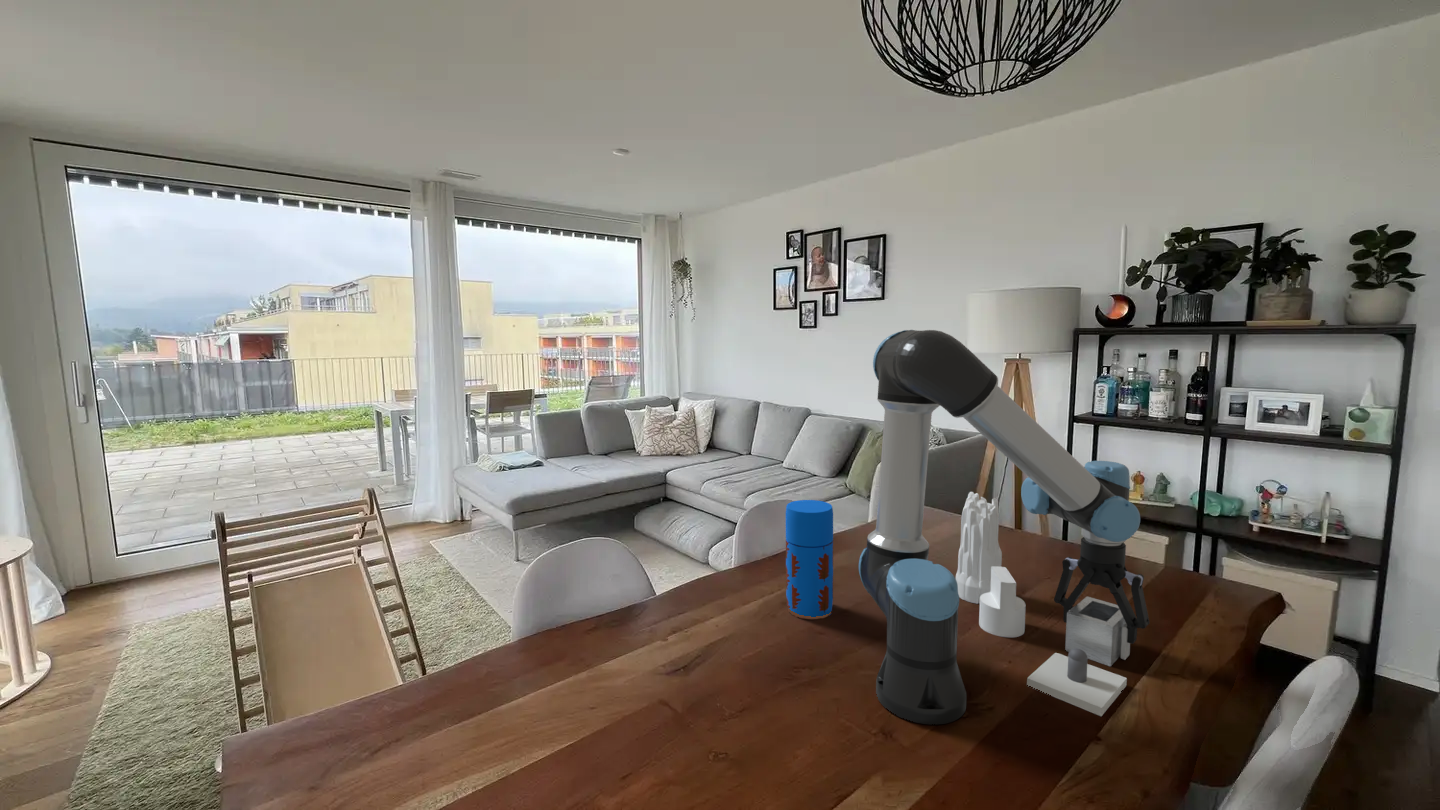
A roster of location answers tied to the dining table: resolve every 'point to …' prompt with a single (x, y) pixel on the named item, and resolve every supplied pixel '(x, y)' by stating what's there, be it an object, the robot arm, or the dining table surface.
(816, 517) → the thermos
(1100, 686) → the keeper board
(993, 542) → the decorative vase
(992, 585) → the cylinder with rectangular tab
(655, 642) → the dining table surface
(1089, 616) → the steel link
